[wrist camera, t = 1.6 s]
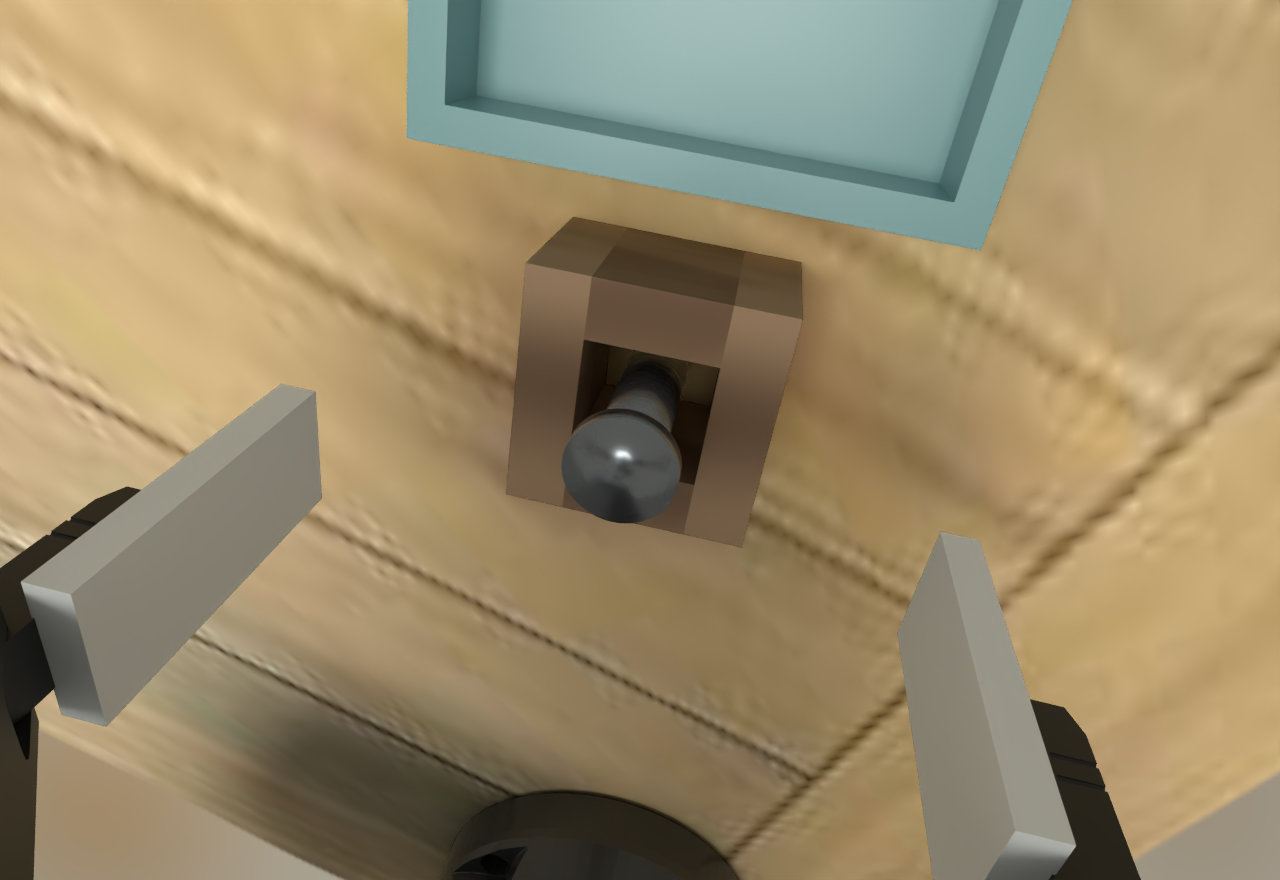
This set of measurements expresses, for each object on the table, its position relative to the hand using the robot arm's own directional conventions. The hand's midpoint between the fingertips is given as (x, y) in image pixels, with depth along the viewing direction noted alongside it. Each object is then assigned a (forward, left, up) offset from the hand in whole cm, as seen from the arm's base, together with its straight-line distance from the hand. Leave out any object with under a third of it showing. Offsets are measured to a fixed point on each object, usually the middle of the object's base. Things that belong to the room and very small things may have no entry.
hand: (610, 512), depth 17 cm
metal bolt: (0, 0, -10) cm, 10 cm away
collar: (0, 0, -10) cm, 10 cm away
